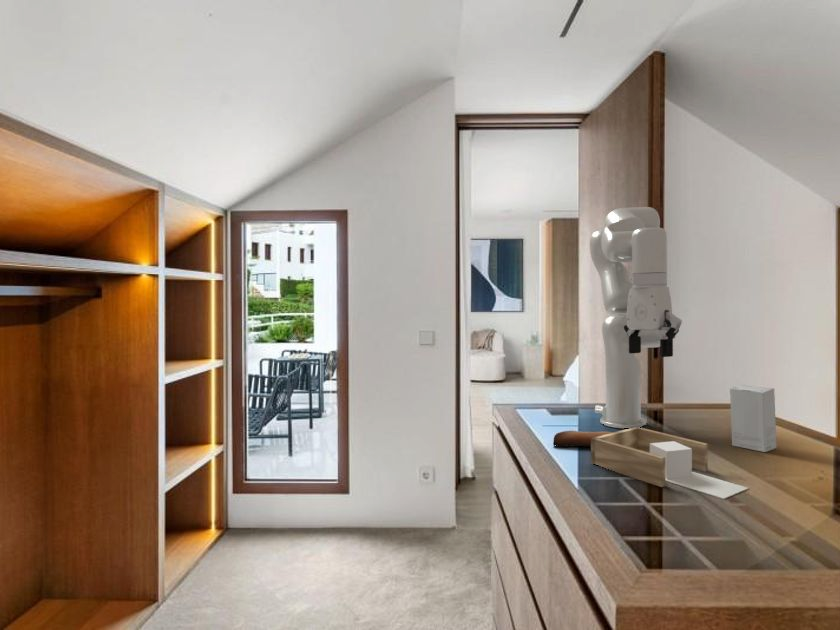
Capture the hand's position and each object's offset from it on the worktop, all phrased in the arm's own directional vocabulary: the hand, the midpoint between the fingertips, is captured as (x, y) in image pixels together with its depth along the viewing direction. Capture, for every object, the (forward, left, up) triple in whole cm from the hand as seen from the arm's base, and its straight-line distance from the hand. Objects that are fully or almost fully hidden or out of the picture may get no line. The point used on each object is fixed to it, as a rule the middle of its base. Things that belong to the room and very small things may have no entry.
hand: (650, 354), depth 134 cm
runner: (+9, -8, -24) cm, 27 cm away
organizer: (+3, -7, -24) cm, 26 cm away
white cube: (+8, -8, -24) cm, 27 cm away
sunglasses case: (-16, 0, -25) cm, 30 cm away
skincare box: (+14, +24, -25) cm, 37 cm away
